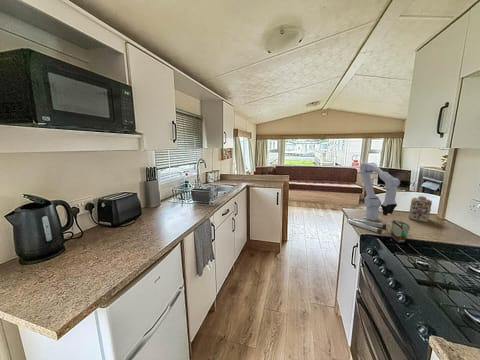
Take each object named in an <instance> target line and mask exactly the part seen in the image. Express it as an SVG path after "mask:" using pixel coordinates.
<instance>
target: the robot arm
mask: <svg viewBox="0 0 480 360" xmlns="http://www.w3.org/2000/svg"><path fill="white" fill-rule="evenodd" d="M359 171H360V174H361V178H362V182H363V186H364V190H365V193H366V196H365V197H364V198H363V199H364V206H365V207H366V208H365V216H363V217H362V218H363V219H364V220H365V219H366V220H368V221H371V222H375V221H378V220H380V218H379V214H380V209H379V208H380V207H381V210H382V214H383V216H386V217H387V216H388V214H390V215H392V214H393V212H394V210H395V208H396V207H397V206H398V204H397V203H398V202H396V197H397V189H398V187H399V186H400V185H401V181H400V179H399V178H398V177H394V176H393V175H391V174H389V172H388V171H384V170H382V169H381V168H380V167H379V166H378V164H377V163H375V162H362V163H361V164H360V166H359ZM373 173H375V174H377V175H378V176H379V179H381V180H382V181H383V182H384V184H385V196H384V201H383V202H382V201H381V200H380V198H379V196H378V195H377V194H375V190H374V185H373V183H372V179H371V175H373Z"/></svg>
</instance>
